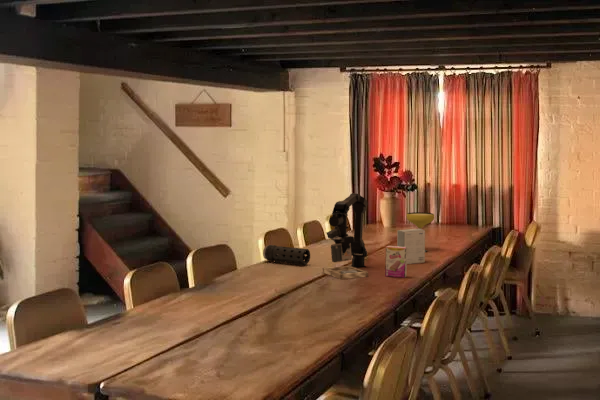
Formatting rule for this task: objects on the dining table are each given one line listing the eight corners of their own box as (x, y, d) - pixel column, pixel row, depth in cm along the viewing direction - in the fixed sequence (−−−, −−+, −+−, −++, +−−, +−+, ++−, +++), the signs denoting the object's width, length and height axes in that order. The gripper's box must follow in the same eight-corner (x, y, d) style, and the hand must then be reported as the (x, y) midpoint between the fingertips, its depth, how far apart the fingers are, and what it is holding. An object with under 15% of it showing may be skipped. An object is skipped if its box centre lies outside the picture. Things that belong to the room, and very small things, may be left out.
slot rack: (349, 270, 422) (349, 266, 422) (368, 276, 404) (368, 272, 404) (322, 272, 415) (322, 268, 415) (340, 279, 396) (340, 274, 396)
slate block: (354, 275, 409) (354, 270, 408) (357, 277, 404) (357, 271, 404) (340, 276, 406) (340, 270, 406) (343, 277, 402) (344, 272, 401)
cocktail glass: (401, 249, 502) (402, 212, 500) (426, 248, 506) (427, 212, 504) (412, 253, 484) (413, 215, 482) (437, 252, 489) (438, 215, 486)
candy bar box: (384, 276, 405) (385, 246, 404) (386, 275, 410) (387, 245, 408) (405, 278, 401) (405, 247, 400) (407, 276, 406) (407, 246, 405)
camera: (335, 262, 408) (333, 244, 407) (330, 262, 413) (328, 244, 413) (353, 260, 412) (351, 242, 412) (348, 259, 418) (347, 241, 417)
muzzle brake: (302, 267, 431) (302, 249, 431) (262, 262, 446) (262, 245, 445) (310, 264, 440) (310, 247, 439) (270, 260, 454) (270, 243, 453)
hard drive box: (417, 260, 457) (418, 228, 455) (425, 262, 450) (426, 230, 449) (396, 262, 450) (397, 229, 449) (403, 264, 444) (404, 231, 442)
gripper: (320, 223, 416) (320, 251, 418) (336, 227, 399) (336, 256, 401) (338, 222, 421) (337, 249, 422) (354, 226, 404) (354, 254, 406)
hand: (341, 252), depth 413 cm, fingers closed on camera, 5 cm apart
